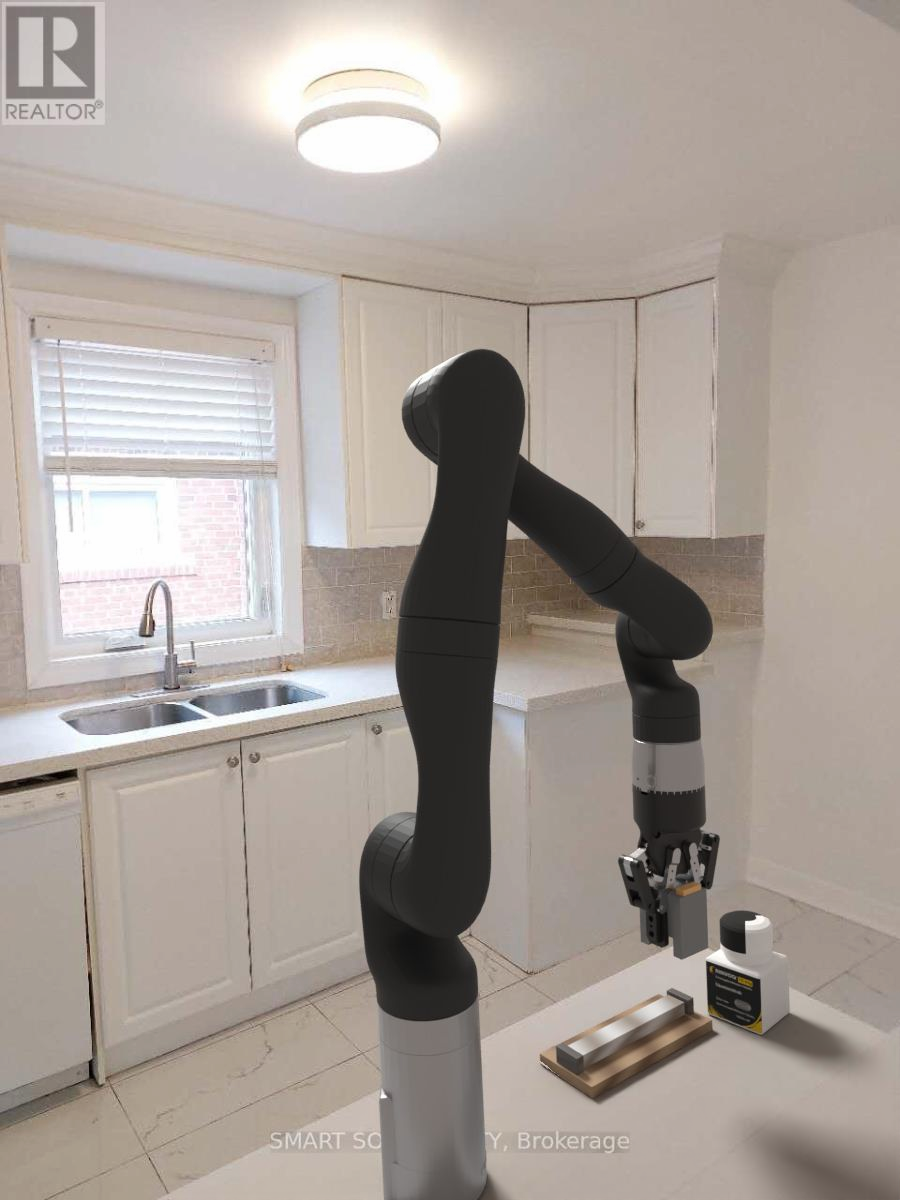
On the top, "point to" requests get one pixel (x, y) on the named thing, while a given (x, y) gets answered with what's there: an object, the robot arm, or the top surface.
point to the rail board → (631, 1052)
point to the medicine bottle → (747, 974)
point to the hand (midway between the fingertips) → (673, 937)
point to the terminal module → (683, 918)
